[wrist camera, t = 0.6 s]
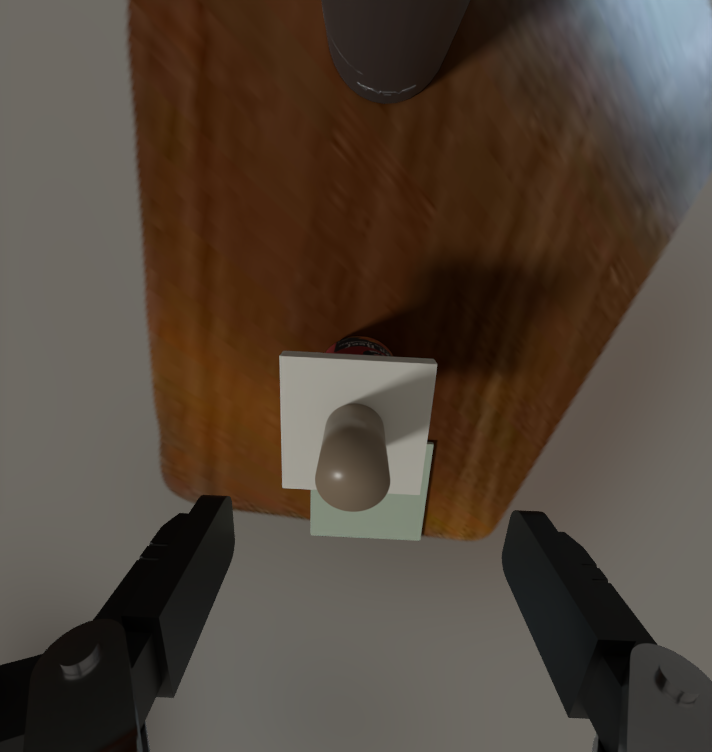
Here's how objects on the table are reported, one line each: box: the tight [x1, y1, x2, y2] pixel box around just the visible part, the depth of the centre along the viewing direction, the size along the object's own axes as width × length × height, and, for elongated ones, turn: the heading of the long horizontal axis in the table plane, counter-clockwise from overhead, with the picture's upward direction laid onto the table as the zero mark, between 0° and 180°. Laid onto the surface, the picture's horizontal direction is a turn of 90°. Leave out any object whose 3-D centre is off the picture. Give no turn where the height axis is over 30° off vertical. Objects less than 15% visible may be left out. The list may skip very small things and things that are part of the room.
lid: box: [279, 351, 438, 512], centre depth 22 cm, size 10×10×7 cm
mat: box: [310, 442, 434, 541], centre depth 40 cm, size 13×13×1 cm
